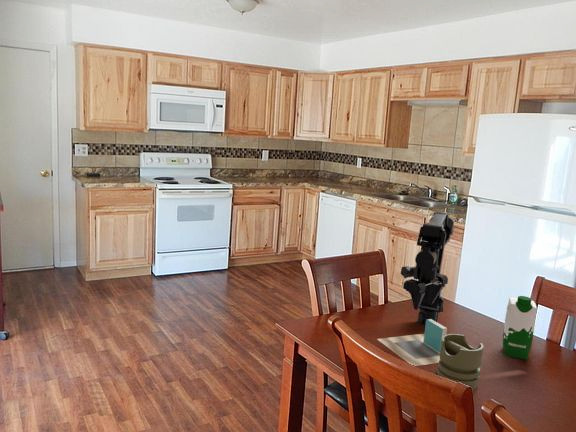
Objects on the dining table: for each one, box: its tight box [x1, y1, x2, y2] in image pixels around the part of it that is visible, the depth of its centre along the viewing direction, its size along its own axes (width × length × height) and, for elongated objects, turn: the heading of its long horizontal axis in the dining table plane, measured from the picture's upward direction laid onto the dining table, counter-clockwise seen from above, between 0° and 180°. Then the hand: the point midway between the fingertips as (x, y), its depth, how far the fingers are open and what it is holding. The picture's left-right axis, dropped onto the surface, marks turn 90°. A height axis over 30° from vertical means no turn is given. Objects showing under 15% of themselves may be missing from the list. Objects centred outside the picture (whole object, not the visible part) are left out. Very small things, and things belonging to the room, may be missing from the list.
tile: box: [423, 319, 448, 352], centre depth 165 cm, size 2×8×8 cm, turn 23°
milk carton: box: [502, 295, 538, 361], centre depth 166 cm, size 9×9×20 cm
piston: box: [436, 333, 484, 391], centre depth 145 cm, size 11×12×11 cm
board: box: [376, 333, 440, 367], centre depth 164 cm, size 22×20×1 cm
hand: (423, 306), depth 169 cm, fingers open, 9 cm apart
